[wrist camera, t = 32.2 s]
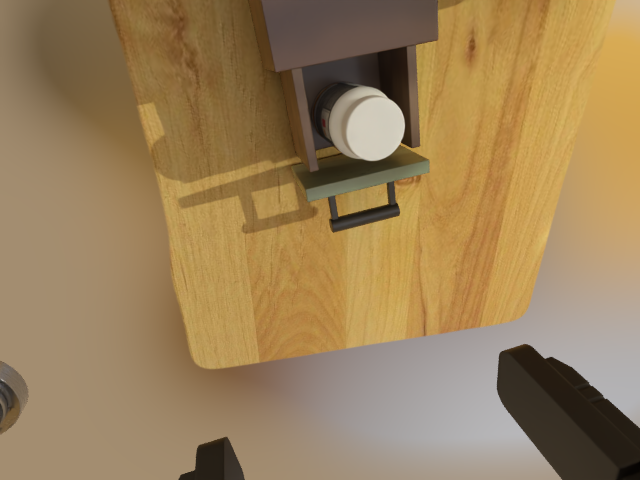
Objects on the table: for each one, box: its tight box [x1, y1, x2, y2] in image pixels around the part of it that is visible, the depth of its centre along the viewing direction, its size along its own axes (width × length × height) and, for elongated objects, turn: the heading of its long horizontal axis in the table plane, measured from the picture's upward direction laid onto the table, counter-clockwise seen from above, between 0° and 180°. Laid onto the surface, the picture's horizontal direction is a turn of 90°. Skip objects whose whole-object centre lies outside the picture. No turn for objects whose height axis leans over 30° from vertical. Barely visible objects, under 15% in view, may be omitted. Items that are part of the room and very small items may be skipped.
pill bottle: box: [312, 82, 405, 161], centre depth 33 cm, size 6×6×10 cm
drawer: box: [280, 45, 430, 233], centre depth 35 cm, size 20×11×8 cm, turn 10°
